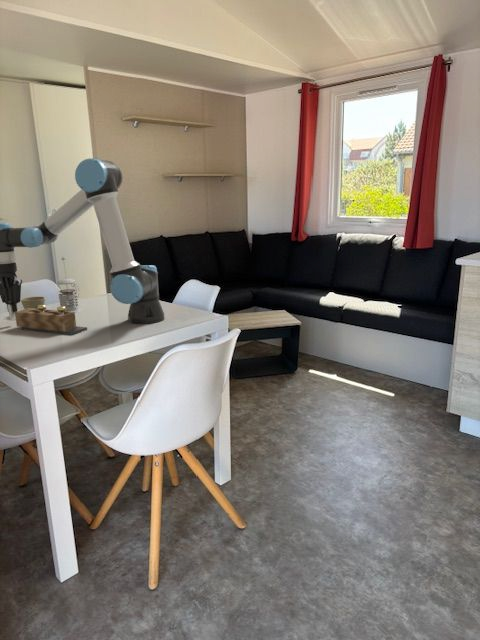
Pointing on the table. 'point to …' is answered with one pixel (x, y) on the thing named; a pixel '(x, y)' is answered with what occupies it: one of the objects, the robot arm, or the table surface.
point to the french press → (68, 295)
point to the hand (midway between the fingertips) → (13, 319)
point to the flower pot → (32, 302)
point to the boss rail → (67, 332)
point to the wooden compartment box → (45, 319)
